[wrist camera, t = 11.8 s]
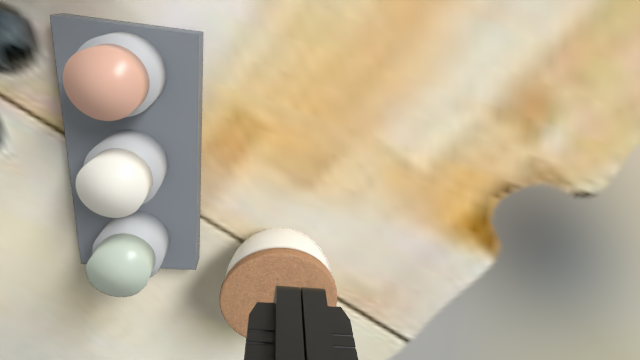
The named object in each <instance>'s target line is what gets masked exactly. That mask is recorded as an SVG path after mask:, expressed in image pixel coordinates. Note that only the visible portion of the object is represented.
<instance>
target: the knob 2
mask: <svg viewBox="0 0 640 360" xmlns="http://www.w3.org/2000/svg"><path fill="white" fill-rule="evenodd" d="M155 262H156V256H155V253H154V250H153V249H152V247H151V246H150V245H149V244H148V243H147V242H146V241H145V240H143V239H142V238H140V237H138V236H135V235H132V234H126V233H120V234H114V235H111V236H109V237H107V238H105V239H104V240H103V241H102V242H101V243H100V245H99V246H98V248H97V249H96V251H95V252H94V253H93V255H92V256H91V258H90V259H89V261H88V263H87V265H86V275H87V278H88V280H89V281H90V283H91V284H92V285H93V286H94V287H95V288H96V289H97V290H99V291H100V292H102V293H104V294H107V295H110V296H115V297H127V296H132V295H134V294H137V293H138V292H140V291H141V290H142V289H143V288H144V287H145V286H146V284H147V282H148V279H149V277H150V275H151V273H152V270H153V268H154V266H155Z"/></svg>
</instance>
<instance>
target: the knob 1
mask: <svg viewBox="0 0 640 360" xmlns="http://www.w3.org/2000/svg"><path fill="white" fill-rule="evenodd" d="M63 85H64V89H65V92H66V94H67V96H68V97H69V99H70V101H71V102H72V103H73V104H74V105H75V106H76V107H77V108H78V109H79V110H80V111H81V112H83V113H84V114H86V115H88V116H90V117H92V118H94V119H98V120H103V121H115V120H119V119H122V118H124V117H126V116H128V115H129V114H130V113H131V112H133V111H134V110H135V109H136V108H137V107H138V106H140V105H141V104H142V103H143V102H144V100H145V99H146V97H147V95H148V92H149V87H150V81H149V75H148V72H147V70H146V68H145V66H144V64H143V63H142V61H141V60H140V59H139V58H138V57H137V56H136V55H135V54H134V53H133V52H131V51H130V50H128V49H127V48H125V47H122V46H119V45H116V44H108V43H107V44H99V45H96V46H93V47H90V48H87V49H84V50H81V51H79V52H77V53H75V54H74V55H72V56H71V57H70V58H69V60H68V61H67V63H66V65H65V67H64V70H63Z"/></svg>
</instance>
